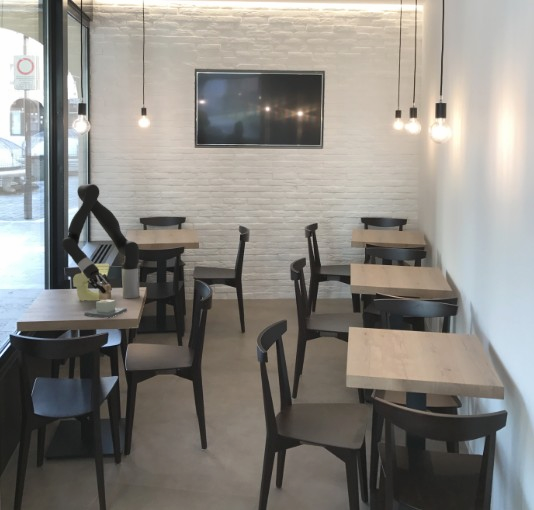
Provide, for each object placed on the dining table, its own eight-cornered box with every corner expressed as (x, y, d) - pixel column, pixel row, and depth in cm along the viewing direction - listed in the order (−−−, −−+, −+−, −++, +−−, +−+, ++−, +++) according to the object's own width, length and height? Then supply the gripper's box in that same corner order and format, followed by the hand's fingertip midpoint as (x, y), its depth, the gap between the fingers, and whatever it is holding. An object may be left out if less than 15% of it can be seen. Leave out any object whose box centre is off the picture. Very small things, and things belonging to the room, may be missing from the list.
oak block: (104, 297, 387) (103, 283, 386) (111, 298, 385) (110, 284, 384) (99, 299, 383) (98, 285, 382) (106, 300, 381) (105, 286, 380)
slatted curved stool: (84, 292, 435) (82, 264, 432) (110, 292, 436) (109, 263, 433) (74, 304, 406) (72, 273, 403) (103, 303, 407) (101, 273, 404)
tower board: (102, 308, 396) (102, 296, 395) (127, 311, 390) (126, 299, 389) (84, 315, 381) (83, 303, 380) (109, 318, 375) (108, 305, 374)
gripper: (83, 265, 377) (103, 289, 375) (100, 261, 390) (119, 284, 388) (75, 274, 380) (95, 298, 378) (92, 270, 393) (111, 293, 391)
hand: (107, 291), depth 383 cm, fingers closed on oak block, 4 cm apart
